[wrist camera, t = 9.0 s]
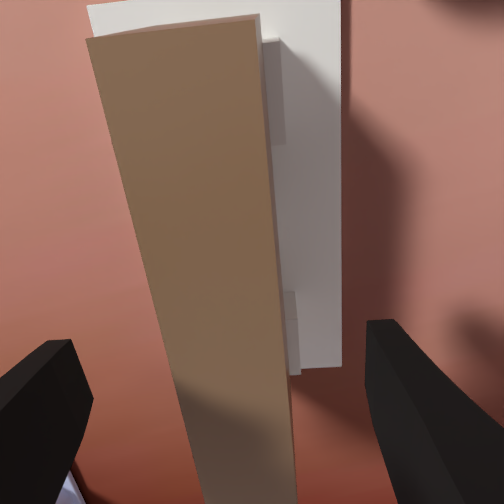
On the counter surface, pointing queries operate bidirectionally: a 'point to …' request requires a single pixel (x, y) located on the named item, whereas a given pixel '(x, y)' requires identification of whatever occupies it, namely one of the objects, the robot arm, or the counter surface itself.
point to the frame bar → (208, 239)
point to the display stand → (287, 149)
